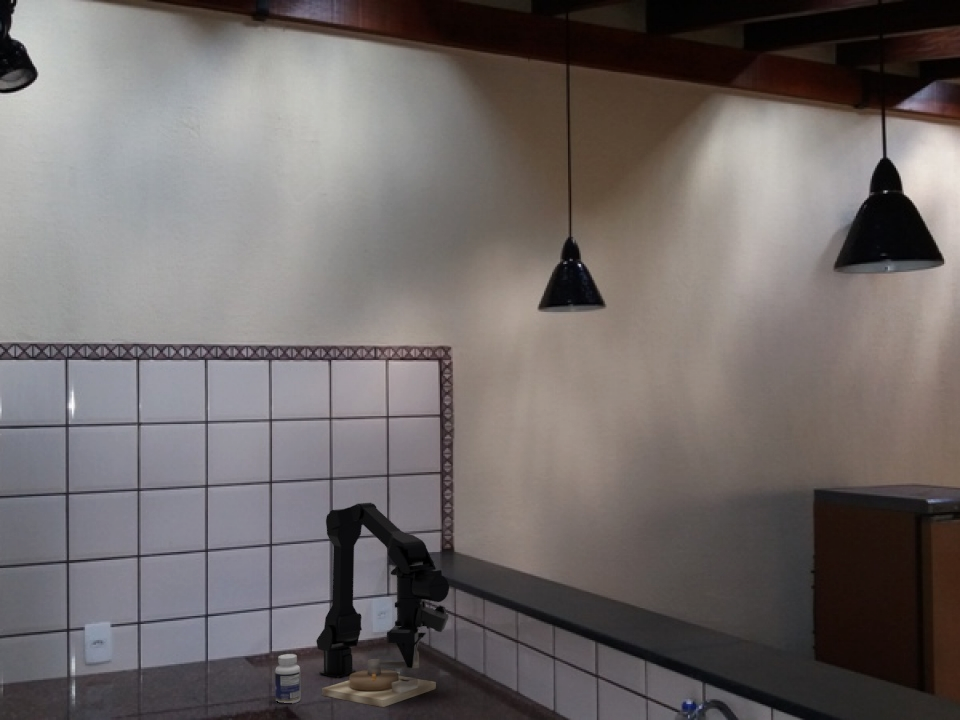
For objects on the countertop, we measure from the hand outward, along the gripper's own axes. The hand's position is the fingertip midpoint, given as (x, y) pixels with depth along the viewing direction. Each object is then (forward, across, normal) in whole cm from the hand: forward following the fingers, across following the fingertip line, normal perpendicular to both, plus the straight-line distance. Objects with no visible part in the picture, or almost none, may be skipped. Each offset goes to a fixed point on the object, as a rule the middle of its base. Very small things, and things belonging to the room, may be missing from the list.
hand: (410, 667), depth 236 cm
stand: (+6, +1, +8) cm, 10 cm away
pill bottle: (+6, -8, +26) cm, 28 cm away
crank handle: (+4, +1, +6) cm, 8 cm away
